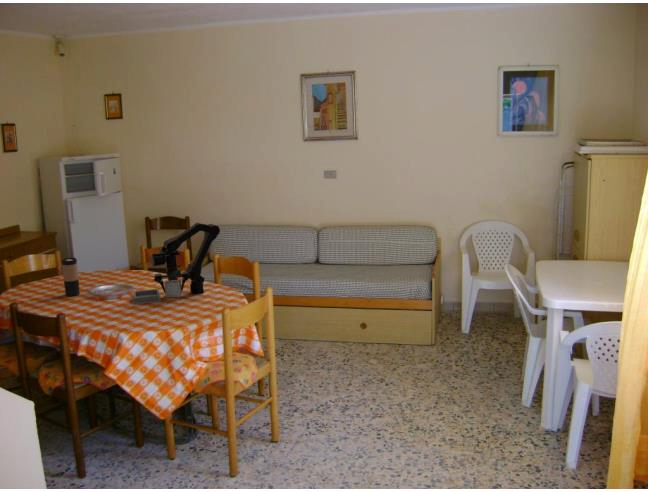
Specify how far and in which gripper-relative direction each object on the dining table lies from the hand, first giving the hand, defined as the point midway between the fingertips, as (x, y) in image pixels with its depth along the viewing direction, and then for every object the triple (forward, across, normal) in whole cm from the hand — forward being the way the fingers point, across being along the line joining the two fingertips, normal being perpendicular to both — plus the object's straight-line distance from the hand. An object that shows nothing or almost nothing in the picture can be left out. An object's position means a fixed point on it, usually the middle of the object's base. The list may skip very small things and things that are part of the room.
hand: (173, 291), depth 357 cm
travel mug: (+3, -53, +21) cm, 57 cm away
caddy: (+2, -14, 0) cm, 14 cm away
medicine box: (+3, 0, 0) cm, 3 cm away
